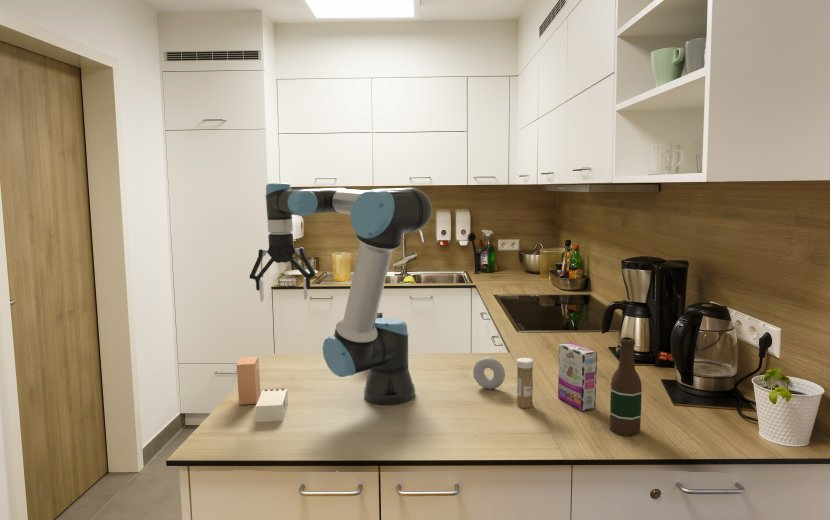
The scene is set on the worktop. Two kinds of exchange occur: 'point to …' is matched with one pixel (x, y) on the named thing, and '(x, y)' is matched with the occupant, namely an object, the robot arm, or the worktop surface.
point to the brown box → (248, 380)
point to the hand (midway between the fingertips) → (284, 299)
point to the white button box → (272, 405)
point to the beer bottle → (626, 393)
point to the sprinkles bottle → (524, 382)
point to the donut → (497, 369)
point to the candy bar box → (577, 376)
